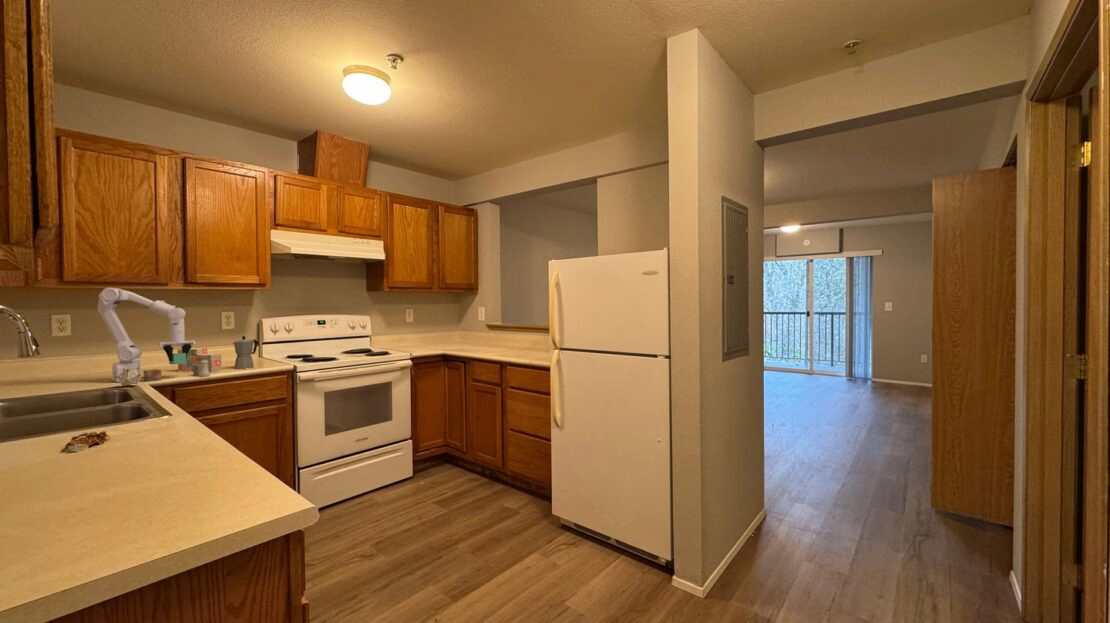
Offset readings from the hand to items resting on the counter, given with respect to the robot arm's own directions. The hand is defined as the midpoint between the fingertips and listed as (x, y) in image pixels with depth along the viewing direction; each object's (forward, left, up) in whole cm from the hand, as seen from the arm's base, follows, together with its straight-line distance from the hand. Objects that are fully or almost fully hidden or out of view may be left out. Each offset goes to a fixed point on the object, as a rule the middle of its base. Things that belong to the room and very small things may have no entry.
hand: (177, 360), depth 229 cm
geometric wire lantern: (-22, -12, -9) cm, 27 cm away
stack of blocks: (+16, +17, -9) cm, 25 cm away
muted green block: (0, 0, -2) cm, 2 cm away
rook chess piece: (+8, -8, -9) cm, 14 cm away
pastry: (-63, -115, -9) cm, 131 cm away
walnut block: (-10, 0, -8) cm, 13 cm away
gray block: (+10, 0, -8) cm, 13 cm away
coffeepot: (+35, +8, -9) cm, 37 cm away
